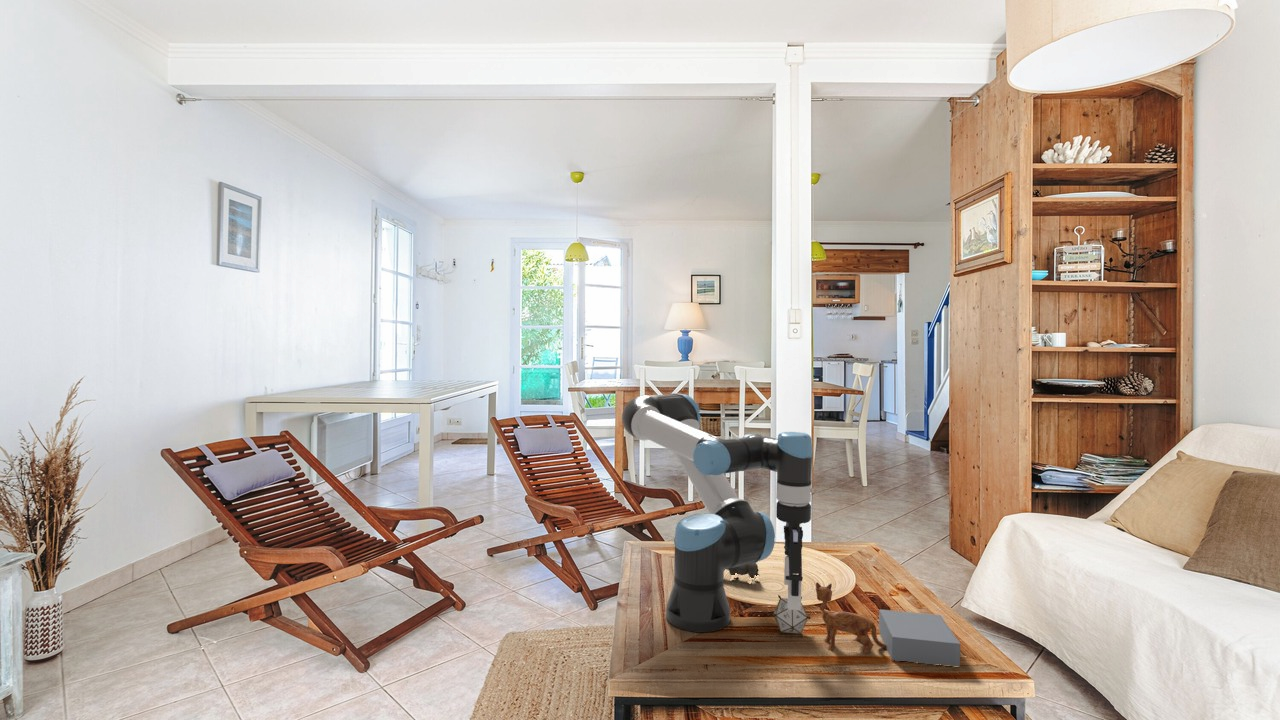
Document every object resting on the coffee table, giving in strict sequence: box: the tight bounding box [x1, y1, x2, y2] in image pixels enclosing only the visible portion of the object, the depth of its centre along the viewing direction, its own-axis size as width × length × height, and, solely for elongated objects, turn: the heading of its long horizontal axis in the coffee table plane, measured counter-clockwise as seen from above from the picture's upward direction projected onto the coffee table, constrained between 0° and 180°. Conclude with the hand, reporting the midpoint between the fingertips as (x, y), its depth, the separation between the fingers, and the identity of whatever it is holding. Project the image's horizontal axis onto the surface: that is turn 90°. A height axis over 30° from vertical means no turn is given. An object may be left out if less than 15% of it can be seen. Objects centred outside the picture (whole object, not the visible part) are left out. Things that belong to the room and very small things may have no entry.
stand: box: [878, 608, 961, 667], centre depth 129 cm, size 13×13×5 cm
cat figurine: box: [815, 581, 887, 655], centre depth 129 cm, size 18×7×14 cm, turn 86°
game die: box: [769, 594, 812, 638], centre depth 135 cm, size 9×8×10 cm
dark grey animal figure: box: [724, 562, 760, 579], centre depth 165 cm, size 4×14×6 cm, turn 70°
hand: (792, 596), depth 134 cm, fingers open, 13 cm apart
